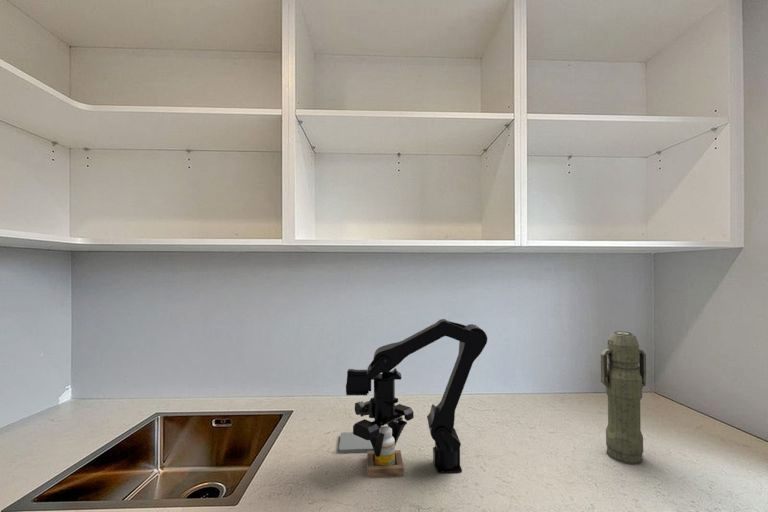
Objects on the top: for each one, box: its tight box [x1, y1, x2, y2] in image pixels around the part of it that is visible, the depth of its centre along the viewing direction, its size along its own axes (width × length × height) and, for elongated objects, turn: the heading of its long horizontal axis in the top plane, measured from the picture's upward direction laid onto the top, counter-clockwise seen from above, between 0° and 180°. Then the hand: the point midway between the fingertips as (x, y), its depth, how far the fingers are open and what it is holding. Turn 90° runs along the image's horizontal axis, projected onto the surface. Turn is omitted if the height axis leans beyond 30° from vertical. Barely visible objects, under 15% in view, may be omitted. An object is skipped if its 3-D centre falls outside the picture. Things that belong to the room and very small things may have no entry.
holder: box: [366, 449, 405, 478], centre depth 104 cm, size 9×9×2 cm
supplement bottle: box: [374, 425, 396, 466], centre depth 104 cm, size 5×5×10 cm
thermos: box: [600, 330, 647, 466], centre depth 108 cm, size 9×12×35 cm
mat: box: [338, 431, 374, 454], centre depth 117 cm, size 12×11×1 cm
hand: (384, 452), depth 104 cm, fingers closed on supplement bottle, 5 cm apart
